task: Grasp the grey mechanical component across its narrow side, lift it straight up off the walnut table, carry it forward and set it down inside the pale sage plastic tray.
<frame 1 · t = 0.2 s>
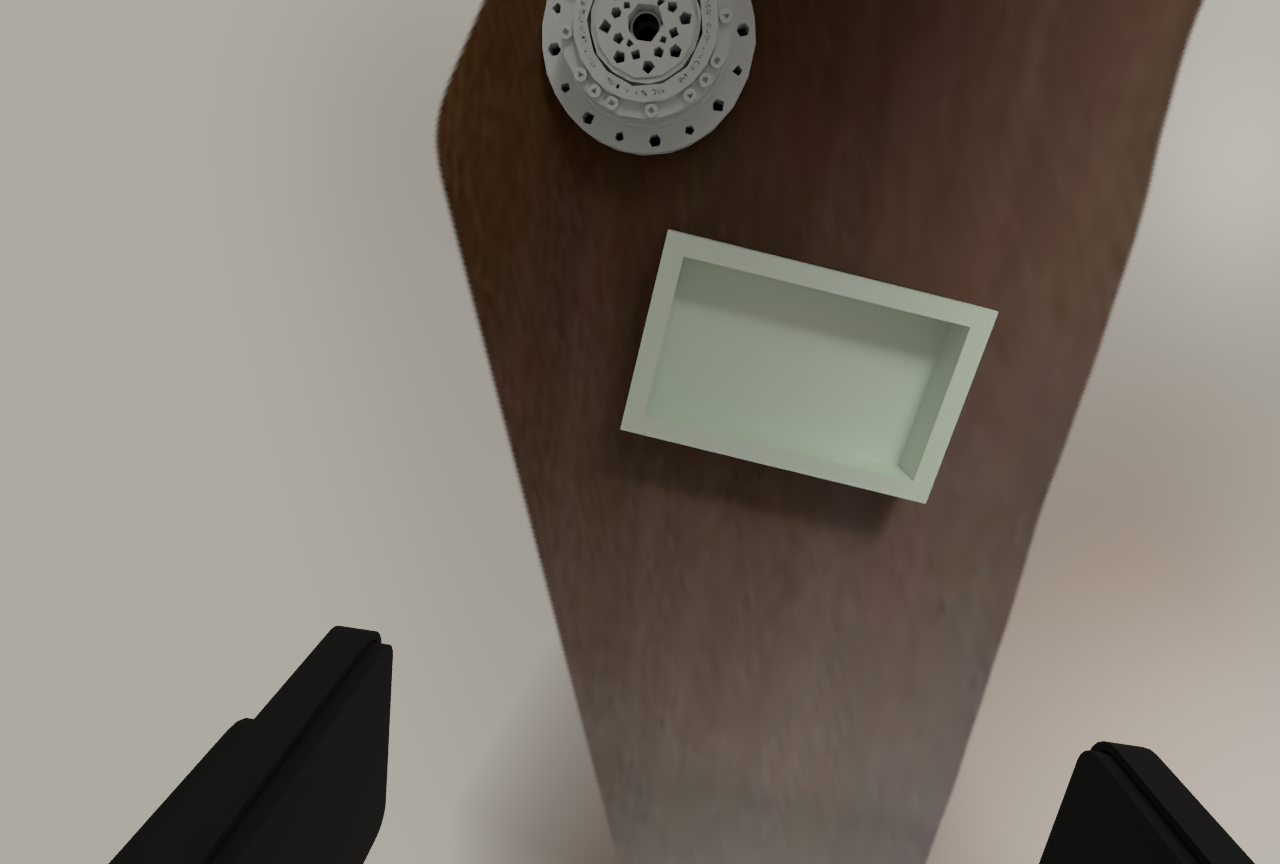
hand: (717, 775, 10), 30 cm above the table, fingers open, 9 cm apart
tray: (791, 359, 39), on the table
mechanical component: (649, 47, 35), on the table
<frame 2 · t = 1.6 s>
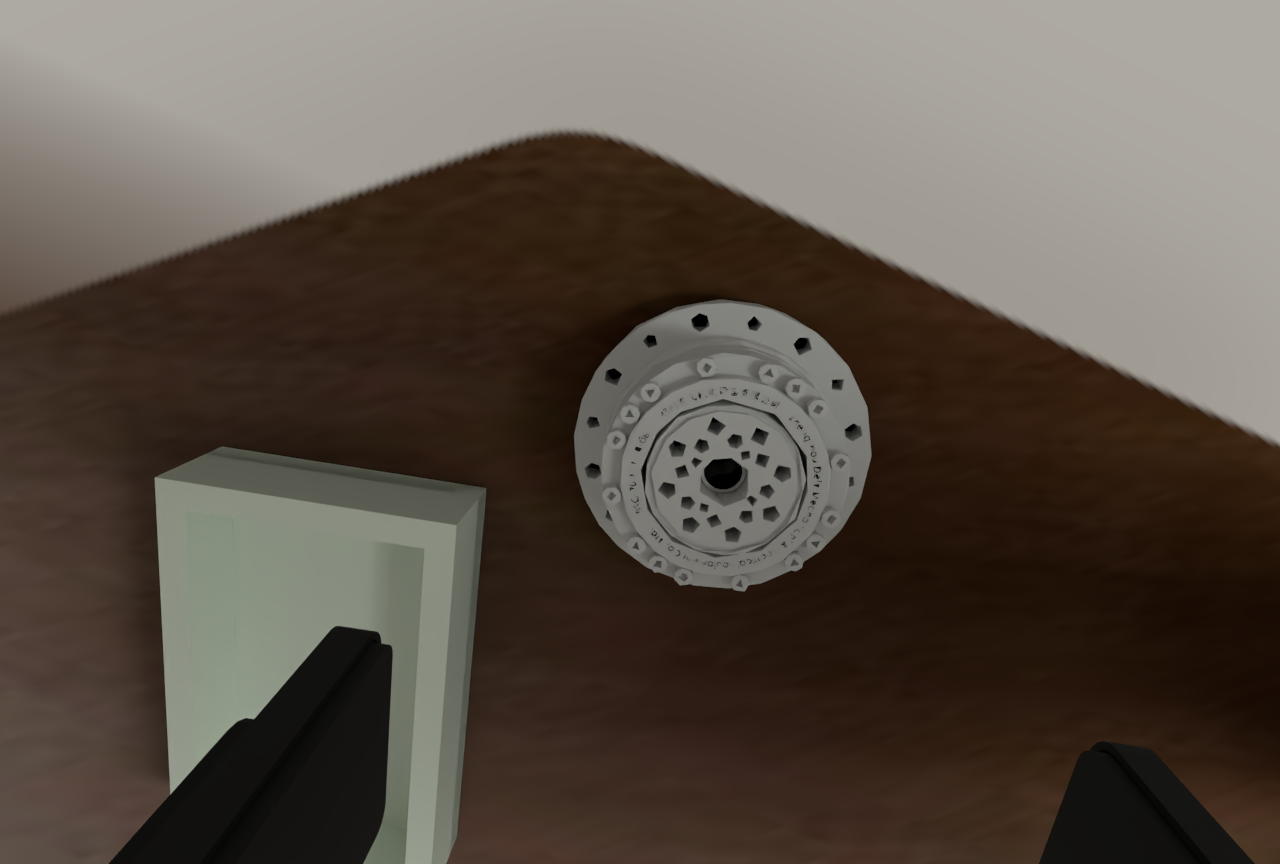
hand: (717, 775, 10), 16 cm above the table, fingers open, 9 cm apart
tray: (347, 655, 29), on the table
mechanical component: (719, 438, 26), on the table
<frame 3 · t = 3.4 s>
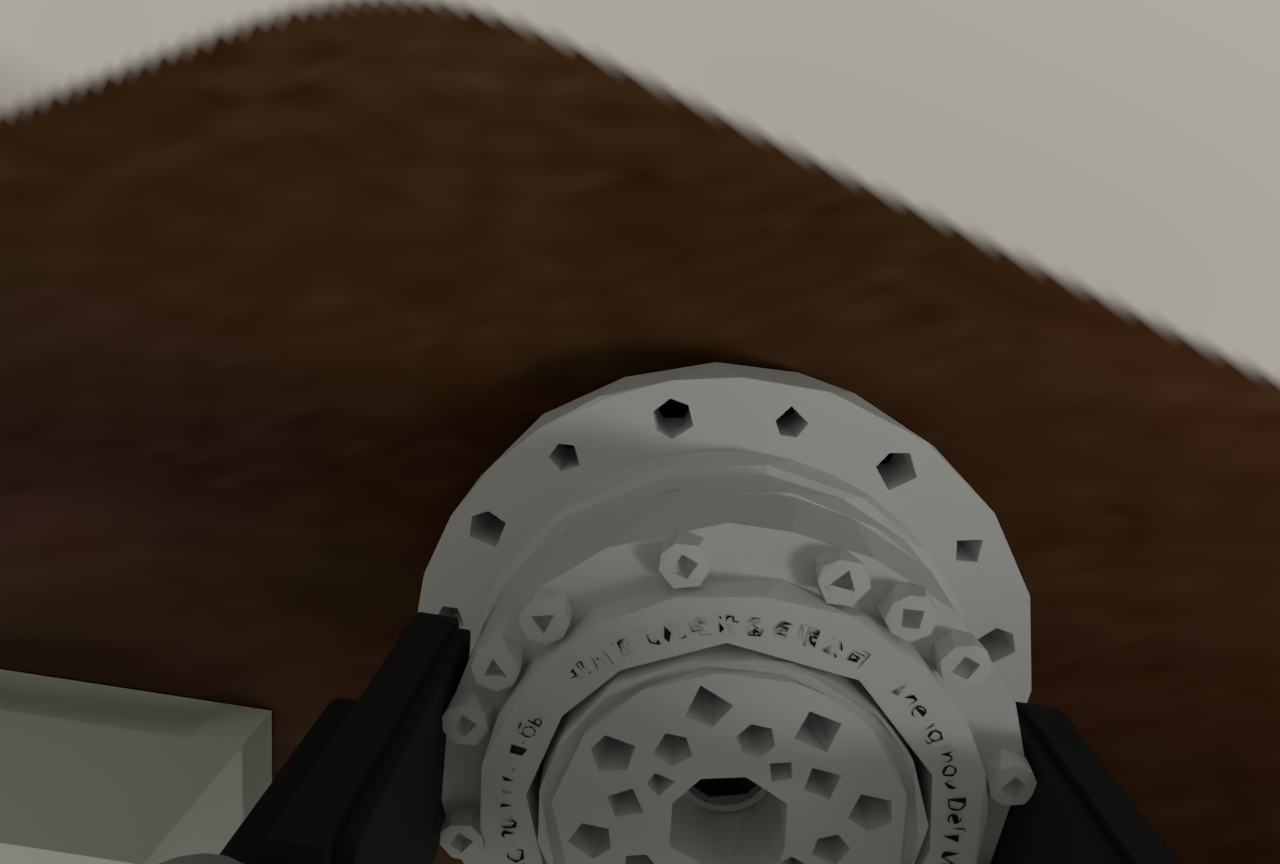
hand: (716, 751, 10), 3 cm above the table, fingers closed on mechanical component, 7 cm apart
mechanical component: (712, 625, 13), on the table, touching gripper
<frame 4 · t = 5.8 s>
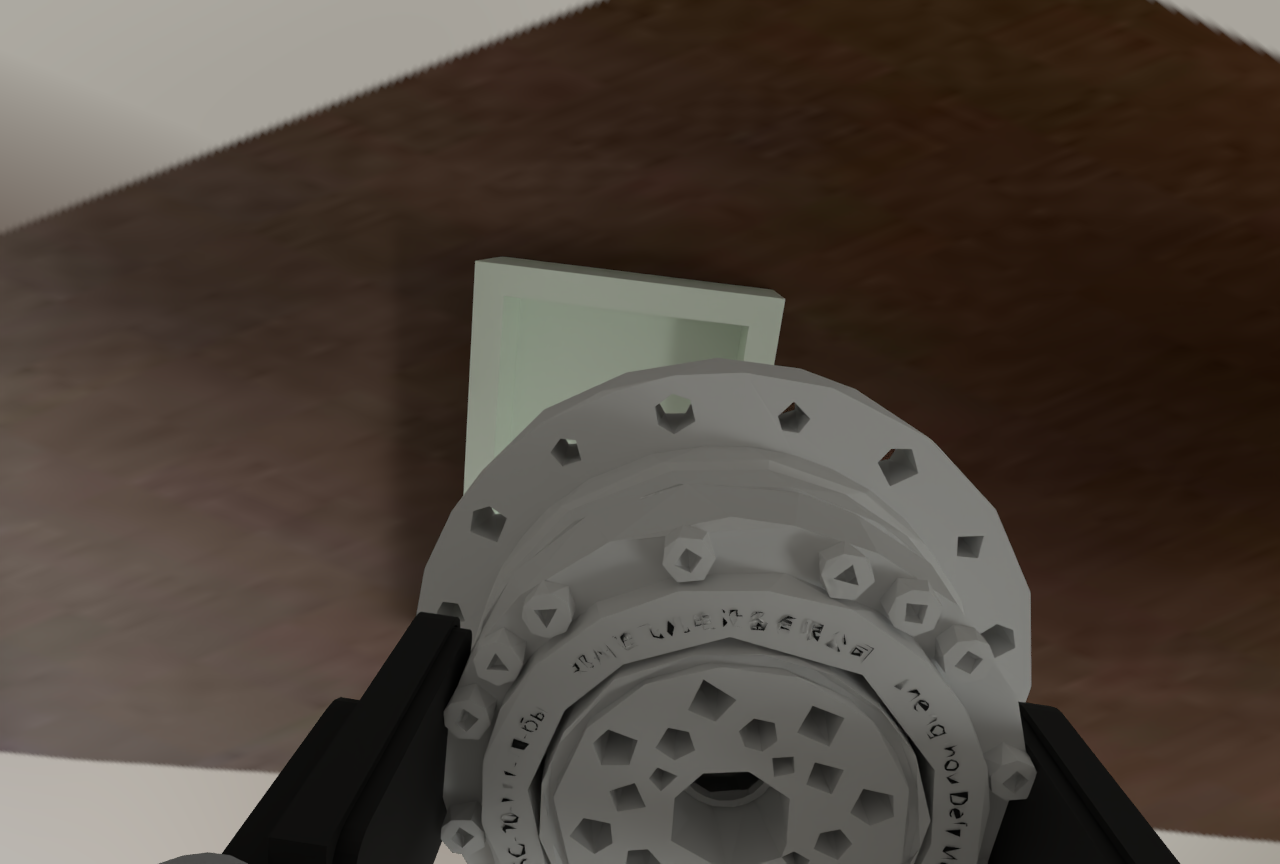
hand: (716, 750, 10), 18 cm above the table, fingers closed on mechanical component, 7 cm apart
tray: (613, 477, 29), on the table
mechanical component: (712, 621, 13), point 15 cm above the table, touching gripper
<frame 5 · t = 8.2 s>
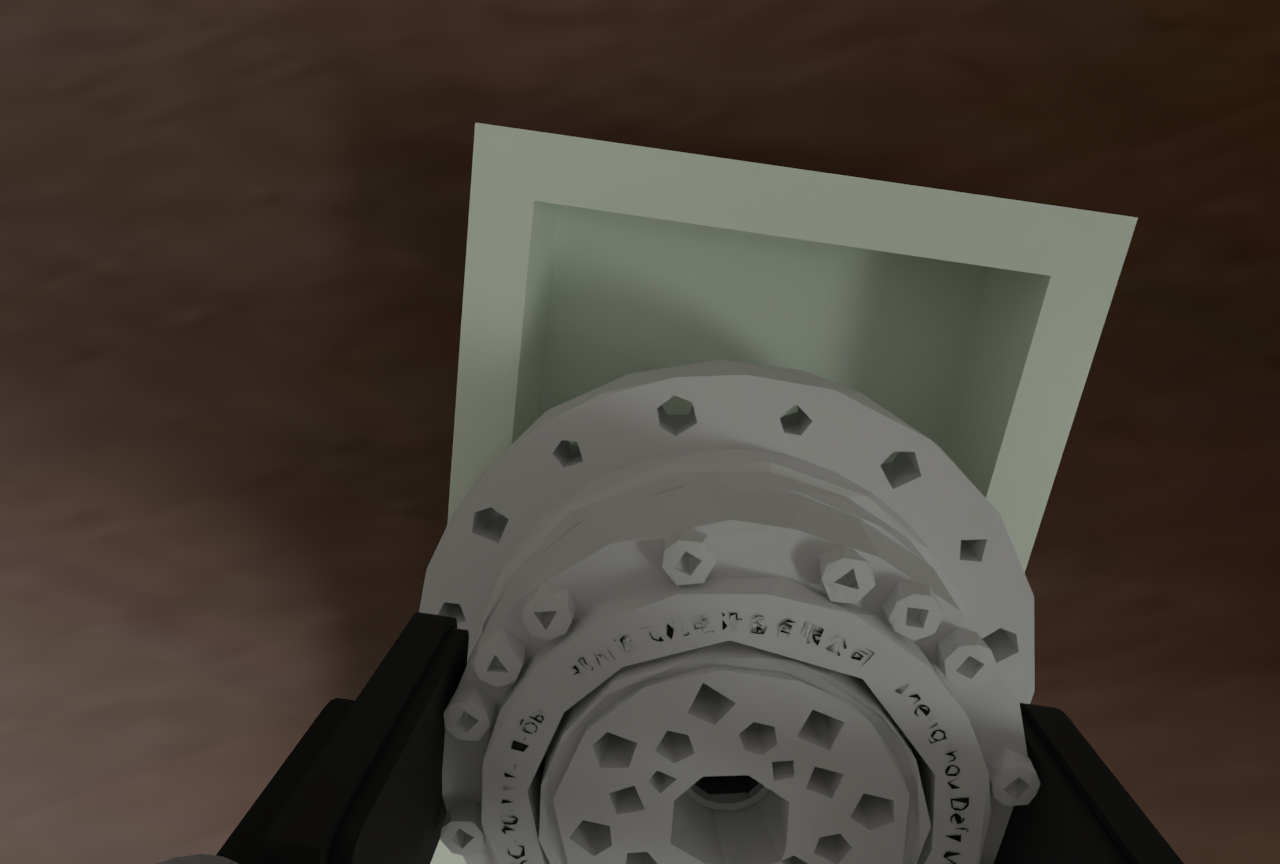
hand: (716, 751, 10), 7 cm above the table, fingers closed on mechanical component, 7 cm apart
tray: (708, 551, 16), on the table
mechanical component: (714, 623, 13), point 3 cm above the table, touching gripper, tray
when the fingers open (6 cm above the table, at t = 8.3 s): mechanical component stays where it is, resting on tray.
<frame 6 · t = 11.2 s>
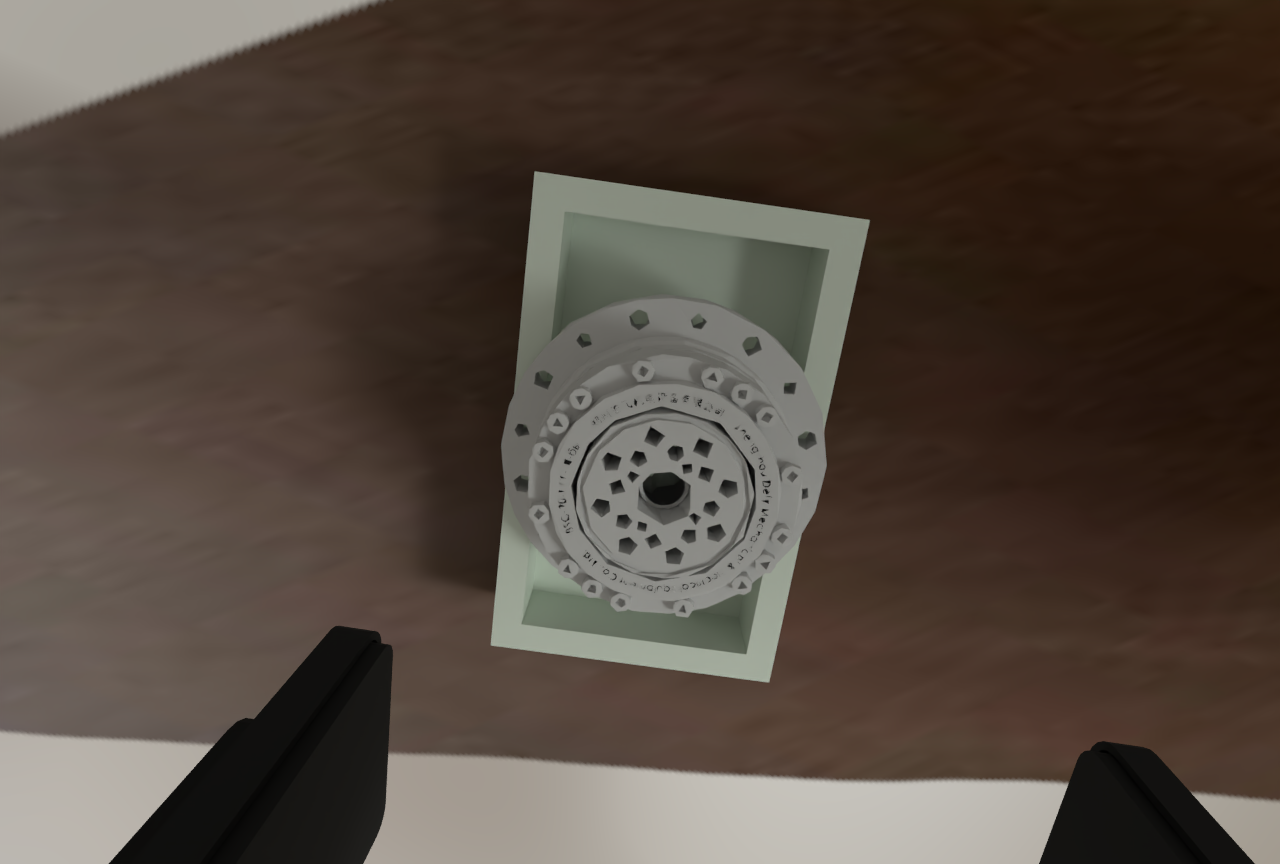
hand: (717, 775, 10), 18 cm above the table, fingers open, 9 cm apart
tray: (662, 423, 27), on the table
mechanical component: (662, 446, 24), point 3 cm above the table, touching tray
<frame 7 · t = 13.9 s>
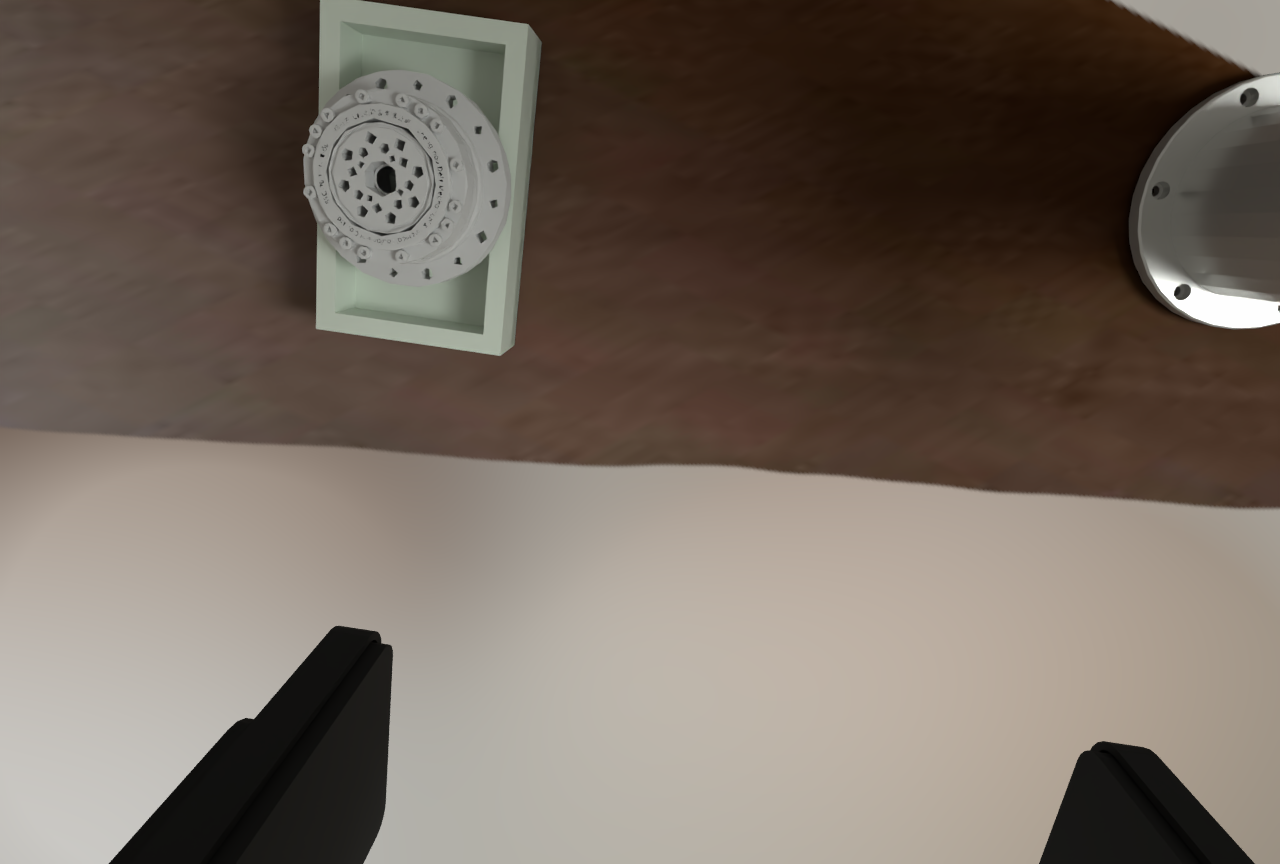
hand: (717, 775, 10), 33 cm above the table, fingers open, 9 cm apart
tray: (437, 189, 40), on the table
mechanical component: (416, 183, 37), point 3 cm above the table, touching tray
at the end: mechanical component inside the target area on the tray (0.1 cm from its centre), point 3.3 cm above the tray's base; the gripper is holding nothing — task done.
